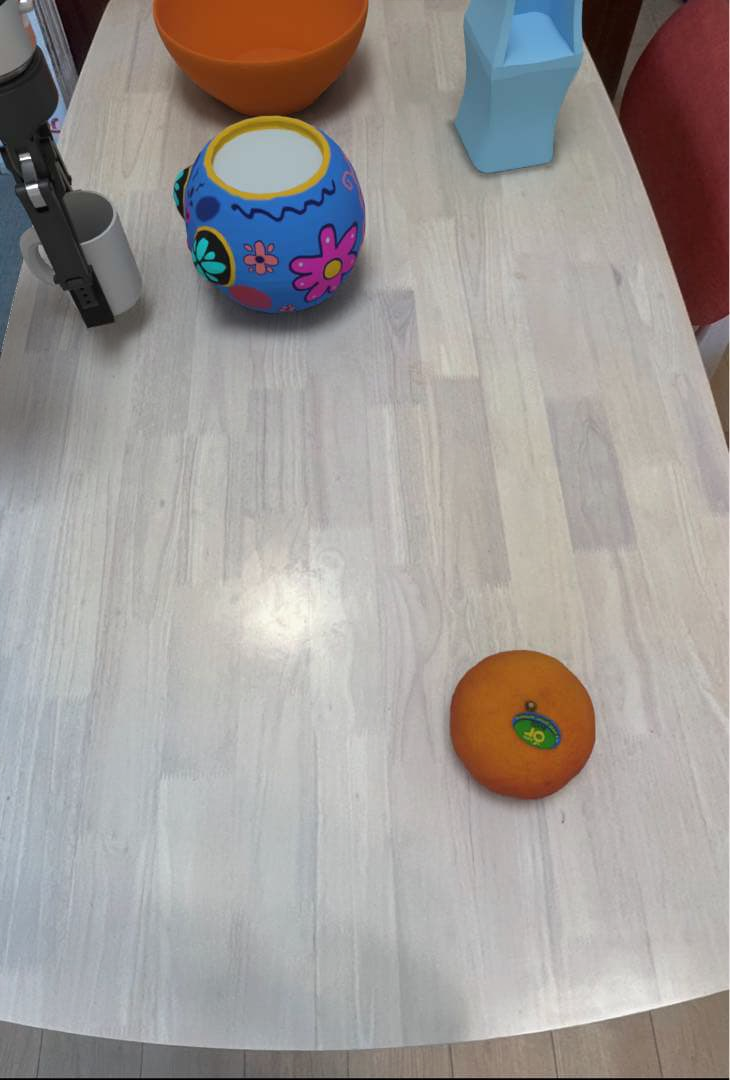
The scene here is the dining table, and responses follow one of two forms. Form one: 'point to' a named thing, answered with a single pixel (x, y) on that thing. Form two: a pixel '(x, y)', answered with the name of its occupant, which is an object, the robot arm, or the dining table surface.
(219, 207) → the ceramic pot
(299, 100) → the bowl
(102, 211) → the cup
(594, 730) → the fruit
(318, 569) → the dining table surface
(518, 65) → the vase
